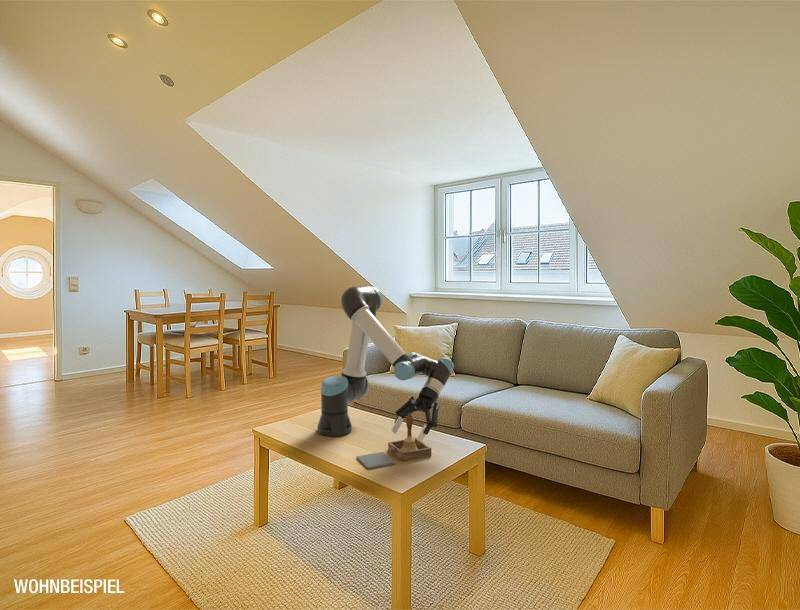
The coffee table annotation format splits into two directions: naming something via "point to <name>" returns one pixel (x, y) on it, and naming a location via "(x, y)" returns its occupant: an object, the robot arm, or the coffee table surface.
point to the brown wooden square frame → (404, 456)
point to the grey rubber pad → (375, 460)
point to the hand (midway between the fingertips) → (405, 436)
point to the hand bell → (409, 436)
